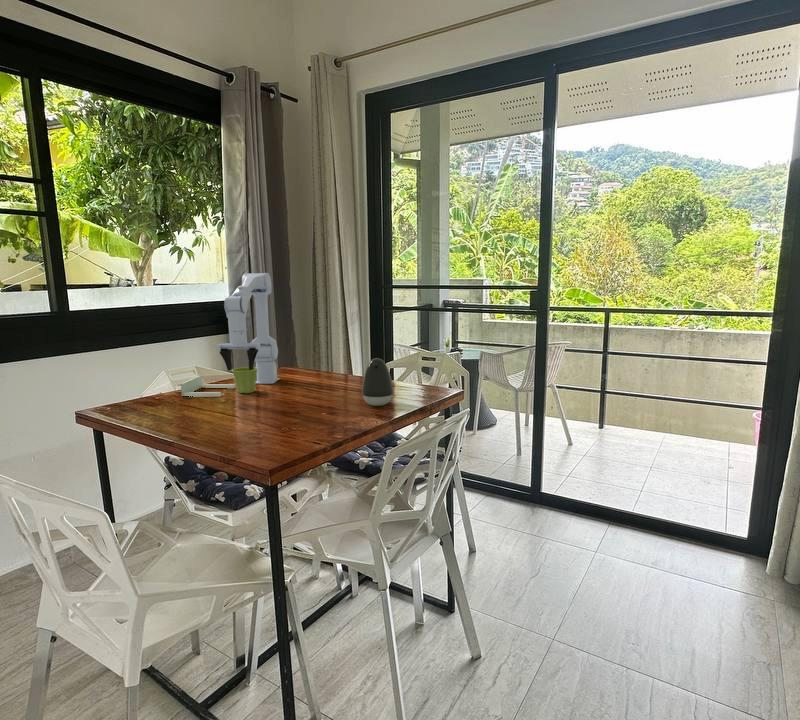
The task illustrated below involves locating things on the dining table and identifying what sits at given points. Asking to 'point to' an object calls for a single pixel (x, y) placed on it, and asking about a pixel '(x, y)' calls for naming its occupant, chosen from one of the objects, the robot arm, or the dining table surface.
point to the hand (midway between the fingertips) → (240, 369)
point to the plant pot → (245, 379)
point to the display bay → (196, 383)
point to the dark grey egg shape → (377, 383)
